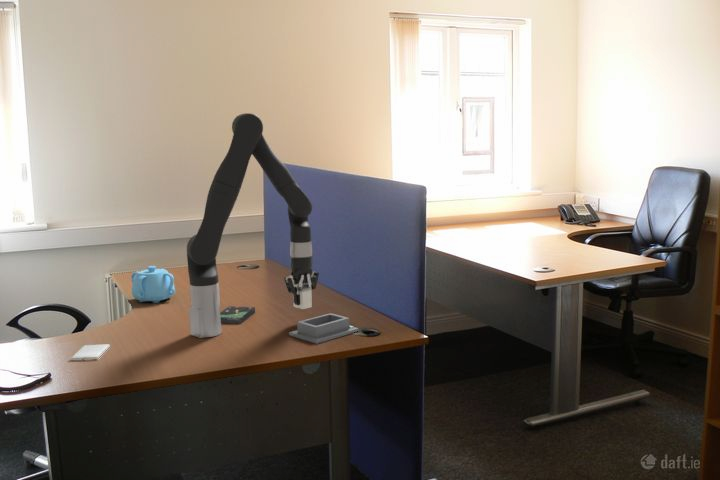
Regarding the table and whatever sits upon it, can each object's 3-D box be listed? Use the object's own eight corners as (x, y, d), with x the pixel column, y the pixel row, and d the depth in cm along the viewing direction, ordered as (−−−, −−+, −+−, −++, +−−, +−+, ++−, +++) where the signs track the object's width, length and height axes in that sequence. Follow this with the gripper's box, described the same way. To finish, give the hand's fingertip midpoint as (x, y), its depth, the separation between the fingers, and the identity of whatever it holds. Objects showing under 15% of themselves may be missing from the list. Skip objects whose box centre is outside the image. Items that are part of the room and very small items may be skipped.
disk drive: (228, 313, 276) (213, 324, 262) (228, 306, 276) (213, 316, 261) (255, 314, 274) (242, 324, 260) (255, 306, 274) (241, 317, 259)
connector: (302, 309, 255) (302, 289, 253) (293, 306, 258) (293, 286, 257) (311, 307, 257) (311, 287, 256) (302, 304, 261) (302, 285, 260)
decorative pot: (133, 307, 288) (130, 272, 286) (131, 297, 303) (129, 264, 301) (176, 302, 293) (174, 268, 291) (172, 293, 308) (170, 261, 306)
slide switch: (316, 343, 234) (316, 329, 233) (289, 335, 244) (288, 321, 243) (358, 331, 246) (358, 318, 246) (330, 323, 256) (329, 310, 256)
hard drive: (83, 345, 236) (70, 357, 224) (109, 344, 237) (97, 356, 224) (84, 350, 237) (70, 362, 224) (110, 349, 237) (98, 361, 225)
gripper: (310, 250, 262) (311, 298, 265) (277, 255, 253) (279, 305, 255) (324, 253, 257) (325, 301, 260) (291, 258, 247) (293, 309, 250)
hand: (302, 303), depth 258 cm, fingers closed on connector, 4 cm apart
